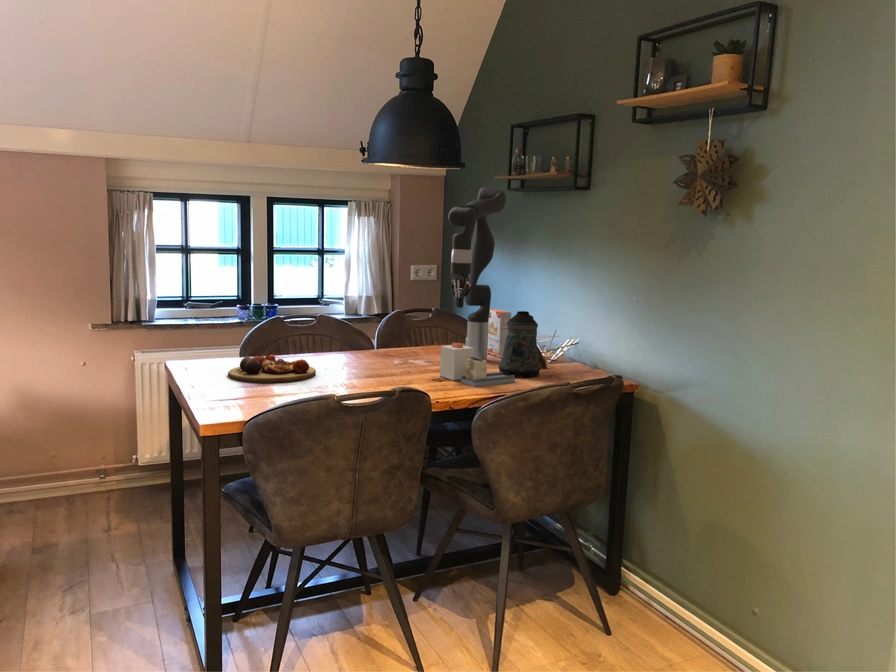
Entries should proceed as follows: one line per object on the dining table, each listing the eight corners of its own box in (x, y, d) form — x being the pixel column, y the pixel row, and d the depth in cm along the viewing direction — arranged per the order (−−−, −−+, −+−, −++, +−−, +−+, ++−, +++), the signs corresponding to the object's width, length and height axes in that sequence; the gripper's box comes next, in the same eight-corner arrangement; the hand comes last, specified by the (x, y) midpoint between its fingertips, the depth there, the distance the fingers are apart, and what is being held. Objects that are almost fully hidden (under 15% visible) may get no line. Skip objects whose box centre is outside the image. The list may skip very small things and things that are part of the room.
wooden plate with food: (333, 375, 267) (333, 354, 266) (265, 387, 242) (265, 363, 241) (278, 366, 286) (278, 346, 285) (210, 376, 261) (209, 354, 260)
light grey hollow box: (439, 376, 269) (440, 346, 268) (459, 374, 275) (460, 344, 273) (453, 381, 262) (454, 349, 260) (473, 379, 267) (474, 348, 266)
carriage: (465, 378, 259) (466, 357, 258) (476, 376, 262) (476, 356, 261) (475, 381, 254) (476, 360, 253) (486, 379, 257) (487, 359, 256)
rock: (514, 359, 300) (524, 360, 290) (525, 343, 301) (535, 343, 292) (533, 374, 303) (543, 375, 293) (544, 358, 304) (554, 359, 295)
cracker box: (483, 353, 329) (485, 308, 326) (495, 352, 332) (496, 308, 329) (498, 358, 316) (500, 312, 314) (510, 357, 319) (511, 311, 316)
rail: (461, 382, 260) (461, 376, 259) (501, 378, 271) (501, 371, 270) (474, 386, 253) (474, 380, 253) (514, 382, 264) (514, 375, 264)
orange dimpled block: (451, 366, 268) (452, 343, 267) (457, 365, 270) (458, 342, 268) (455, 367, 266) (456, 344, 264) (462, 367, 267) (463, 343, 266)
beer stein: (498, 377, 272) (501, 313, 268) (498, 368, 291) (500, 308, 288) (541, 379, 271) (544, 315, 268) (538, 370, 290) (541, 309, 287)
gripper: (479, 262, 260) (478, 309, 262) (459, 260, 270) (457, 305, 273) (463, 262, 255) (461, 309, 258) (443, 260, 266) (441, 306, 269)
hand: (459, 307), depth 266 cm, fingers closed
